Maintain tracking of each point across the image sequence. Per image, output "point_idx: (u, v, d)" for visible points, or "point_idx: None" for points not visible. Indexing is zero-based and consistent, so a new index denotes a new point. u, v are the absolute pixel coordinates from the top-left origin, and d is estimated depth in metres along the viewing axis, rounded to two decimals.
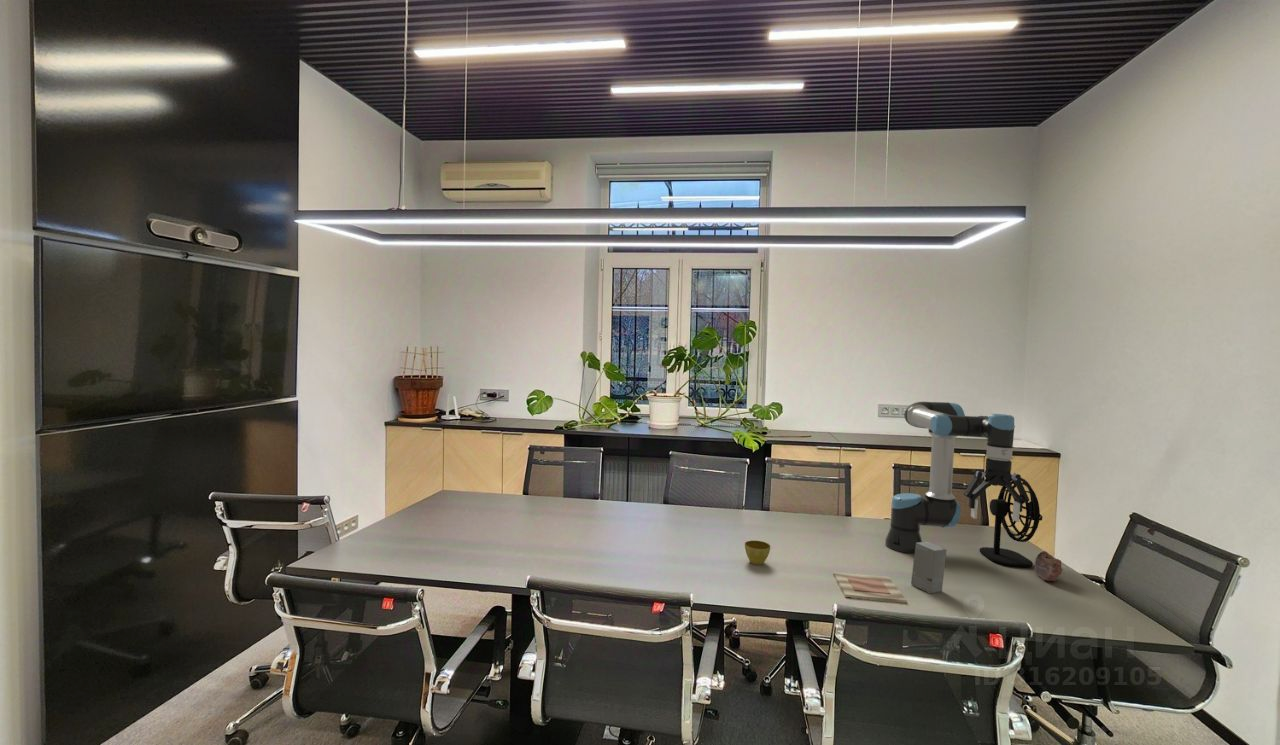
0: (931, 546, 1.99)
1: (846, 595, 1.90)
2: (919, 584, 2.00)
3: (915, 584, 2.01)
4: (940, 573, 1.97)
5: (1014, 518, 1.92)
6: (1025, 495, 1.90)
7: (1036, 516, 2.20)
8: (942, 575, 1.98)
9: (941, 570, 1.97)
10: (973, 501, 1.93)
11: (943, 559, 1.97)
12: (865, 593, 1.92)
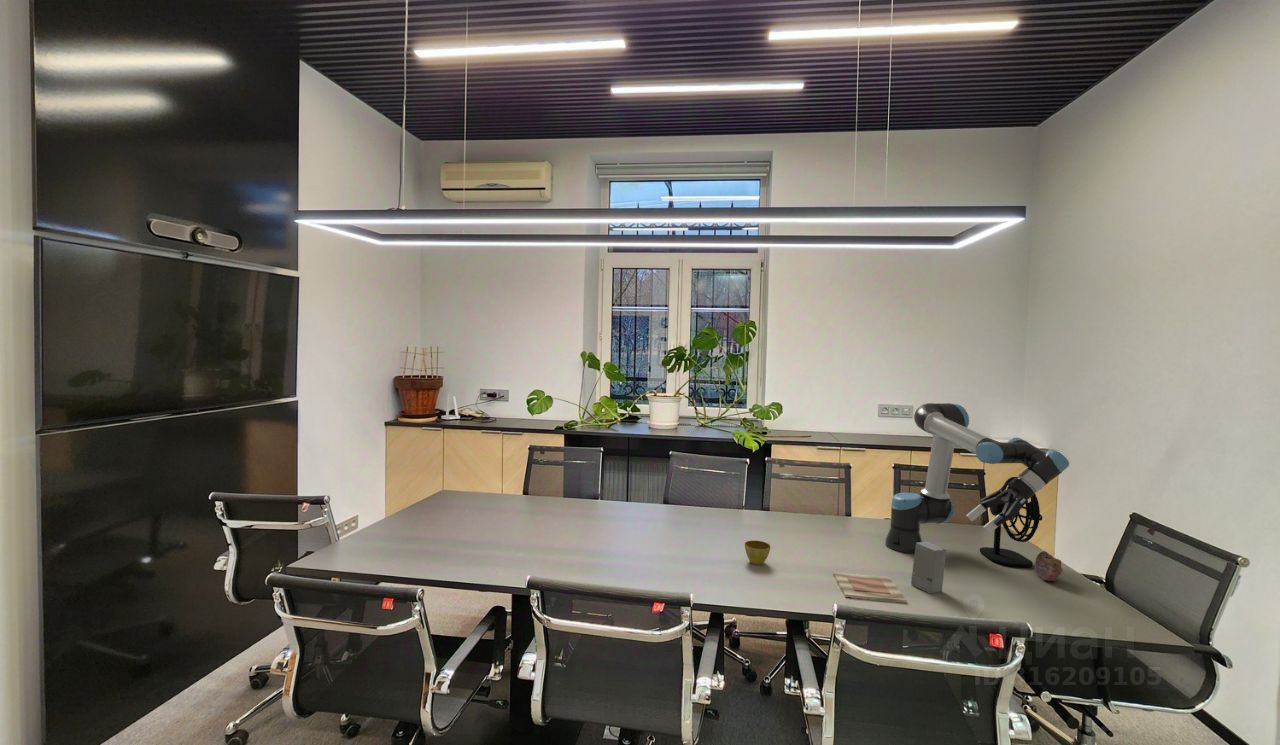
0: (931, 546, 1.99)
1: (846, 595, 1.90)
2: (919, 584, 2.00)
3: (915, 584, 2.01)
4: (940, 573, 1.97)
5: (971, 517, 2.04)
6: None
7: (1036, 516, 2.20)
8: (942, 575, 1.98)
9: (941, 570, 1.97)
10: None
11: (943, 559, 1.97)
12: (865, 593, 1.92)
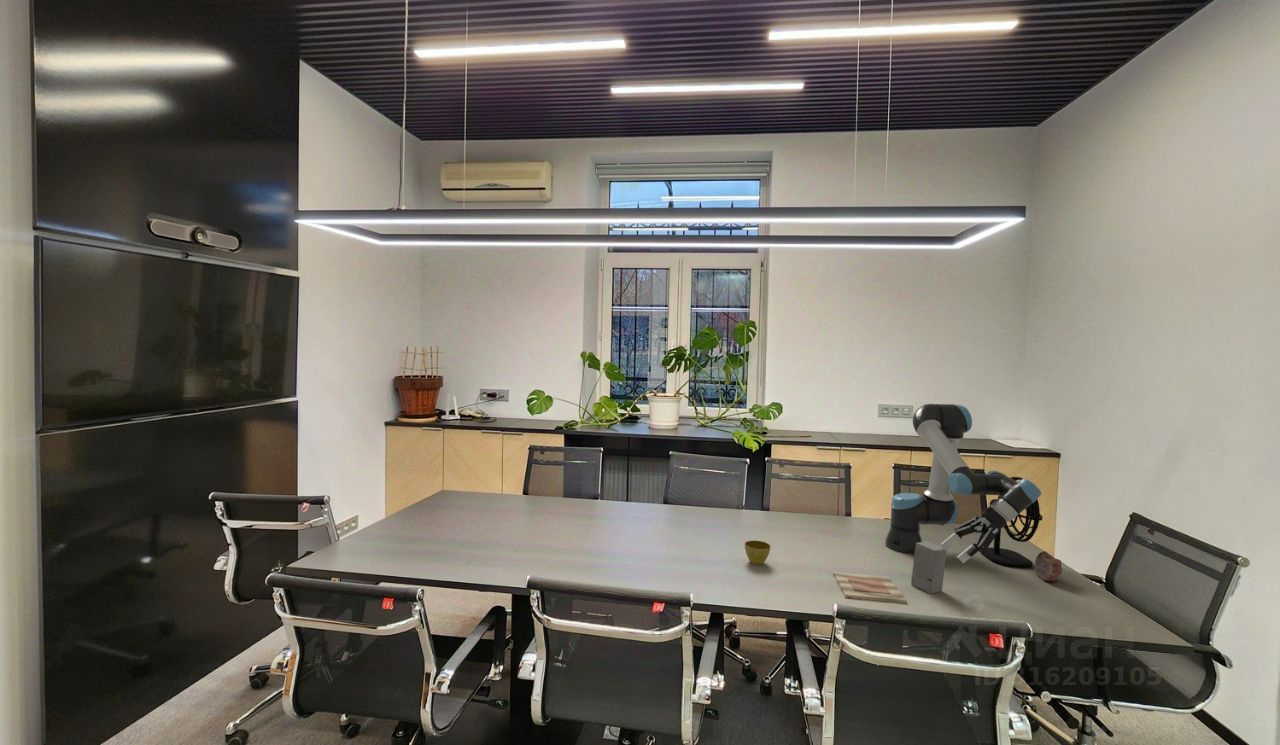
0: (931, 546, 1.99)
1: (846, 595, 1.90)
2: (919, 584, 2.00)
3: (915, 584, 2.01)
4: (940, 573, 1.97)
5: (945, 545, 2.04)
6: None
7: (1036, 516, 2.20)
8: (942, 575, 1.98)
9: (941, 570, 1.97)
10: None
11: (943, 559, 1.97)
12: (865, 593, 1.92)
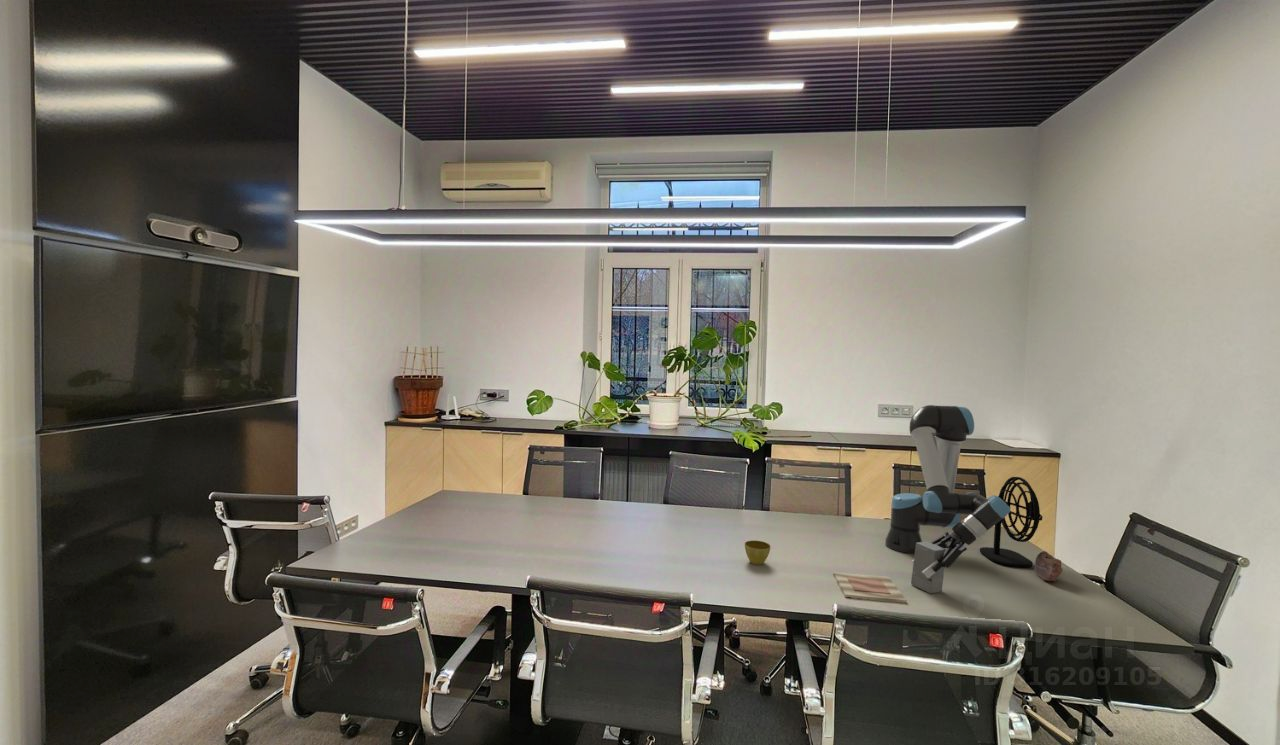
0: (931, 546, 1.99)
1: (846, 595, 1.90)
2: (919, 584, 2.00)
3: (915, 584, 2.01)
4: (940, 573, 1.97)
5: None
6: None
7: (1036, 516, 2.20)
8: (942, 575, 1.98)
9: (941, 570, 1.97)
10: None
11: None
12: (865, 593, 1.92)
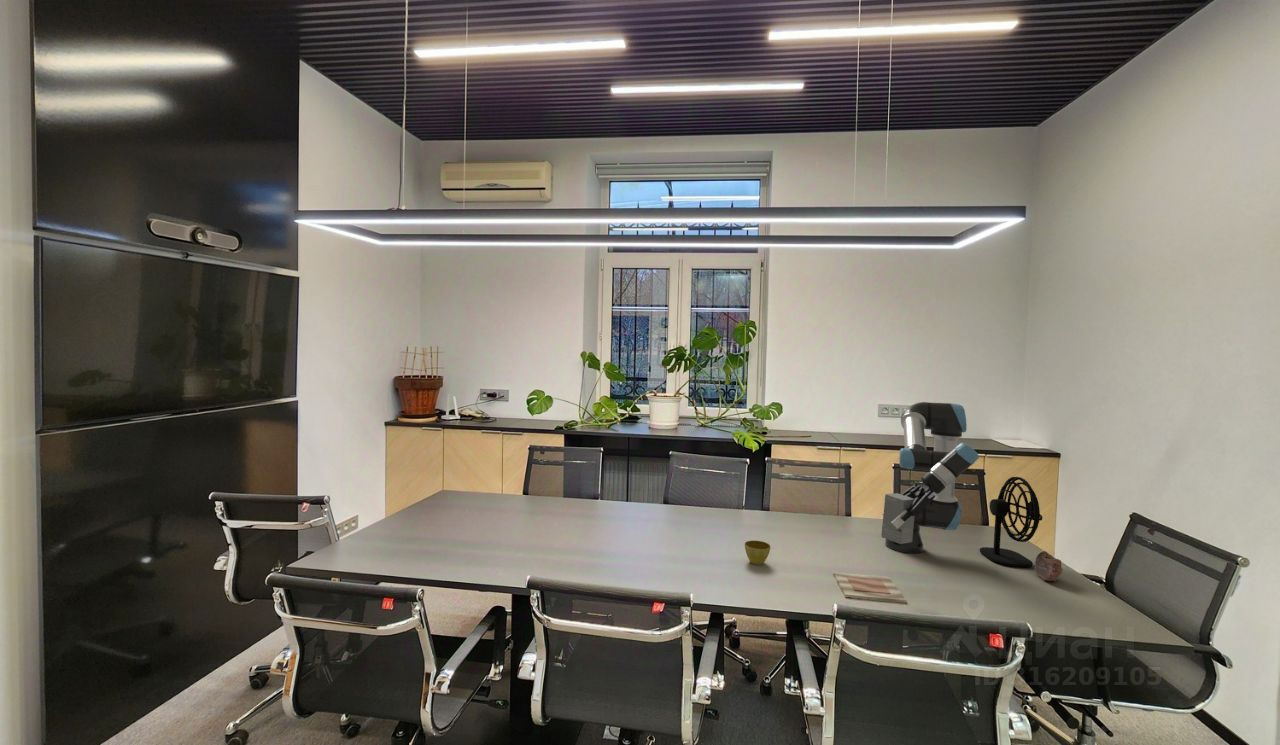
0: (900, 497, 1.95)
1: (846, 595, 1.90)
2: (889, 536, 1.96)
3: (885, 536, 1.97)
4: (910, 523, 1.93)
5: None
6: None
7: (1036, 516, 2.20)
8: (912, 525, 1.94)
9: (911, 520, 1.94)
10: None
11: None
12: (865, 593, 1.92)
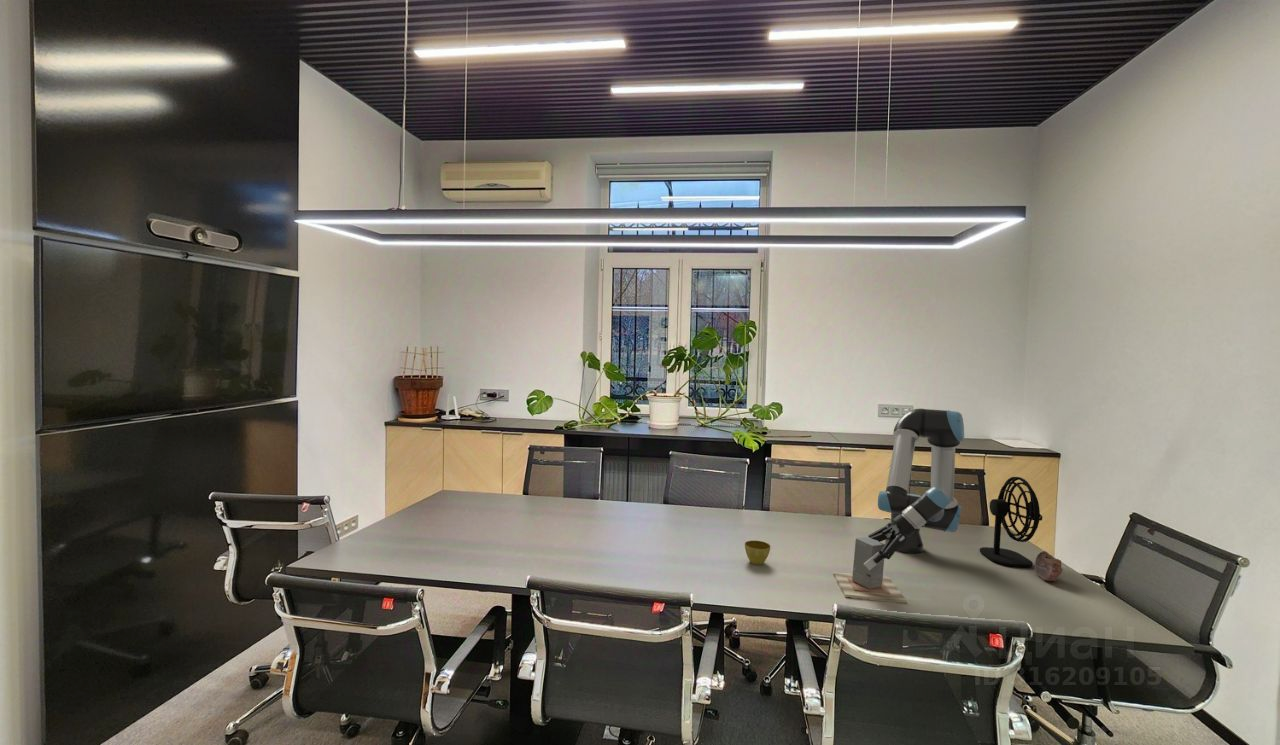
0: (870, 542, 1.97)
1: (846, 595, 1.90)
2: (859, 580, 1.98)
3: (856, 580, 1.99)
4: (879, 568, 1.95)
5: None
6: None
7: (1036, 516, 2.20)
8: (881, 570, 1.96)
9: (881, 565, 1.96)
10: None
11: None
12: (865, 593, 1.92)
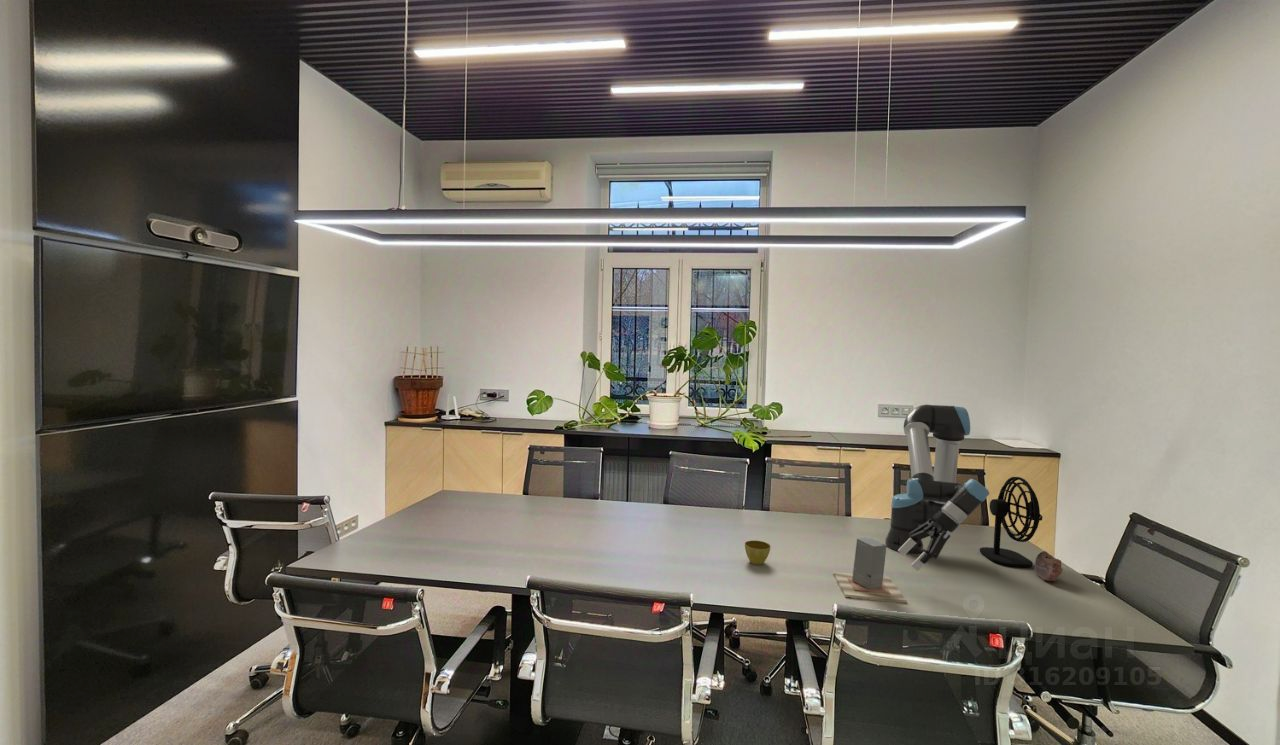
0: (871, 542, 1.97)
1: (846, 595, 1.90)
2: (859, 580, 1.98)
3: (856, 580, 1.99)
4: (880, 569, 1.95)
5: (902, 551, 2.03)
6: None
7: (1036, 516, 2.20)
8: (882, 571, 1.96)
9: (881, 566, 1.95)
10: None
11: (883, 555, 1.95)
12: (865, 593, 1.92)
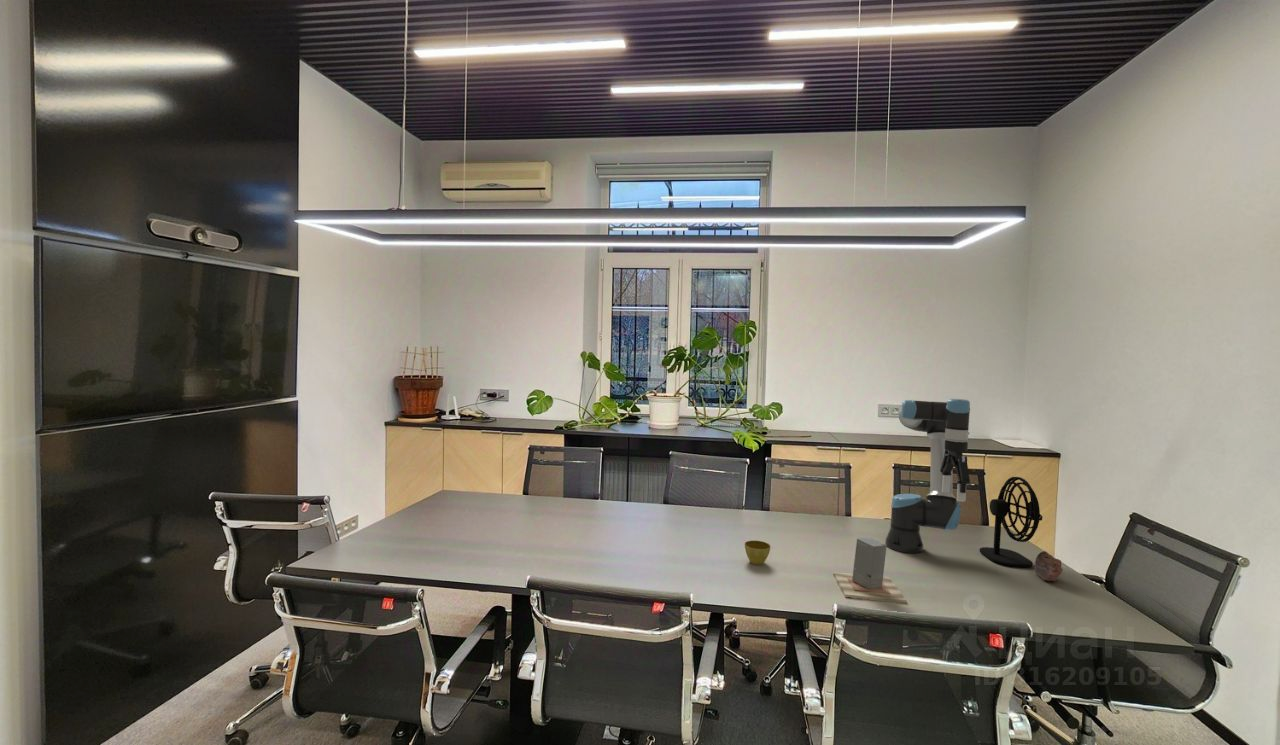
0: (871, 542, 1.97)
1: (846, 595, 1.90)
2: (859, 580, 1.98)
3: (856, 580, 1.99)
4: (880, 569, 1.95)
5: (946, 490, 2.14)
6: None
7: (1036, 516, 2.20)
8: (882, 571, 1.96)
9: (881, 566, 1.95)
10: None
11: (883, 555, 1.95)
12: (865, 593, 1.92)
